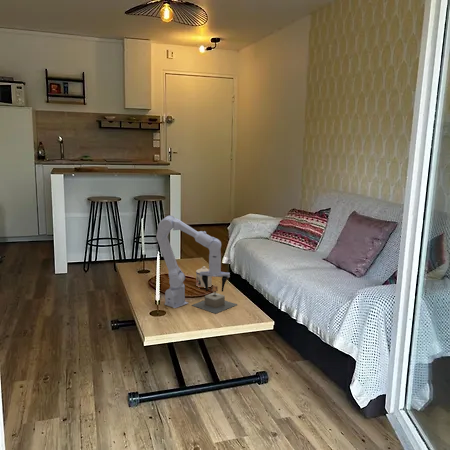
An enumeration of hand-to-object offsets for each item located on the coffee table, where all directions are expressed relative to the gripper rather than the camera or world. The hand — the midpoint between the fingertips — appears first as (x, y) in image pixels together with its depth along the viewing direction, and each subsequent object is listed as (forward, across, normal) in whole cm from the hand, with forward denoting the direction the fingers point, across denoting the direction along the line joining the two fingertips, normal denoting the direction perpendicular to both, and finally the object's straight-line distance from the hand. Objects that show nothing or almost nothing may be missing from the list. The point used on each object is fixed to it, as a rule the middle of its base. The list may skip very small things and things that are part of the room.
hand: (214, 290), depth 223 cm
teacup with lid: (+8, -9, +27) cm, 30 cm away
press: (+8, 0, 0) cm, 8 cm away
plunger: (+4, 0, 0) cm, 4 cm away
